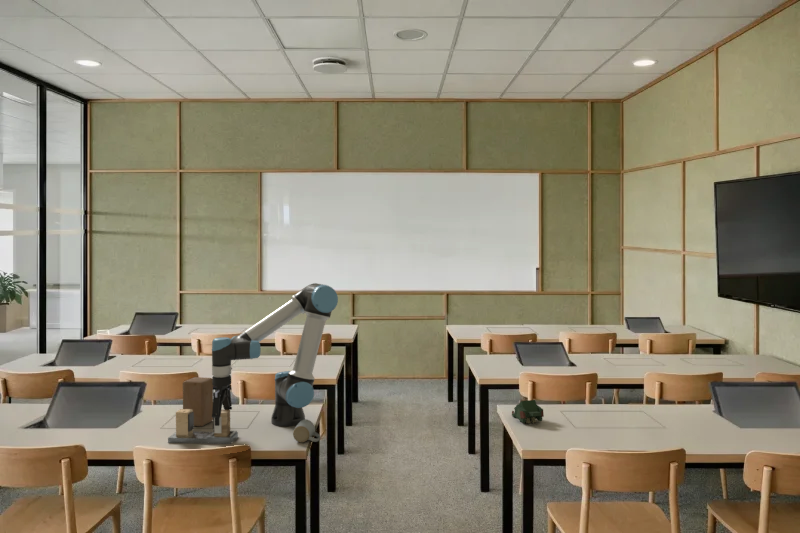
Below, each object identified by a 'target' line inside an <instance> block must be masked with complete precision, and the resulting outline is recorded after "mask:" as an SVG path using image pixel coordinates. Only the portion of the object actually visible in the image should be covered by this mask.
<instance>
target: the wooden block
mask: <svg viewBox="0 0 800 533" xmlns="http://www.w3.org/2000/svg"><path fill="white" fill-rule="evenodd" d="M213 388H214V386H213V385H212V378H211V377H200V376H199V377H198V376H197V377H196V376H194V377H192V378H189V379H186V380H184V381H183V382H182V409H193V412H194V427H204V426H206V425H207V424H209V423H211V422H213V418H212V409H213V392H214V389H213Z"/></svg>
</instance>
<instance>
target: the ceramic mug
mask: <svg viewBox="0 0 800 533" xmlns="http://www.w3.org/2000/svg"><path fill="white" fill-rule="evenodd" d="M292 435H293V439H294V440H295V442H297V443H305V442H307V441H310V442H314V443H318V442H319V441H320V439H321V435H320V434H319V433H318V432H317V431H316V427H315V424H314V423H313V422H312V421H311V420H310V419H305V420H302V421H300V422H299V423H298V425H295V426H294V430H293V432H292ZM313 436H315V437H316V438H315V437H313Z"/></svg>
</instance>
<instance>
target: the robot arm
mask: <svg viewBox="0 0 800 533" xmlns="http://www.w3.org/2000/svg"><path fill="white" fill-rule="evenodd" d="M338 303H339V297H338V292H337V291H336V290H335V289H334V288H333V287H331V286H329V285H327V284H322V283H316V282H314V283H311V284H308V285H306V286H304V287H303V288H302V289H300V290H299V291H298V292H296V293H295V294H293V295H292V296H291V299H290V300H288V302H286V303H285V304H283V305H282V306H280V307H278V308H277V309H275V310H274V311H273V312H271V313H270V314H268V315H266V316H265V317H264V318H263V319H261V320H259V321H258V322H256V323H255V324H254V325H252V326H251V327H249V328H248V329H246V330H245V331H244V332H242V333H240V334H239V335H234V336H232V337H231V338H230V337H224V336H223V337H215V338H213V340H212V344H211V375H212V385H213V387H216V389H215V391H213V409H212V418H214V433H222V427H221V417H220V416H221V410H230V411H231V410H233V407H232V405H233V404H232V395H231V384H232V375H231V374H232V370H233V367H232V361H239V360H240V361H241V360H253V359H258V358H260V356H261V352H262V350H261V343H260V342H261V341H263V340H265V339H266V338H267V337H269V336H270V335H272V334H273V333H275V332H276V331H277V330H279V329H280V328H281V327H283V326H285V325H286V324H287V323H289V322H290V321H292V320H294V318H296V317H298V316H299V315H301V314H303V315H305V316H306V318H305V322H304V326H303V329H302V333H301V337H300V341H299V344H298V348H297V353H296V357H295V360H294V364H293V367H292V368H293V369H292V370H283V371H278V372H276V373H275V375H274V376H275V377H274V395H275V396H274V397H275V398H274V399H275V400H274V405H275V406H274V408H273V412H272V415H271V424H272V425H274V426H279V427H292V426H294V427H295V426H297V425H298V423H299V422H300V421H302V420H306V415H305V412H304V409H303V408H305V407H307V406H309V405H310V404H311V403H312V401H313V400H314V397H315V391H314V387H313V386H314V382H315V376H314V374H313V373H314V368H315V364H316V361H317V356H318V352H319V348H320V344H321V341H322V337H323V333H324V329H325V326H326V321H327V320H329V319H330V318H331V315H332V312H333V310H335V309H336V307H337V306H338ZM222 408H223V409H222Z"/></svg>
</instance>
